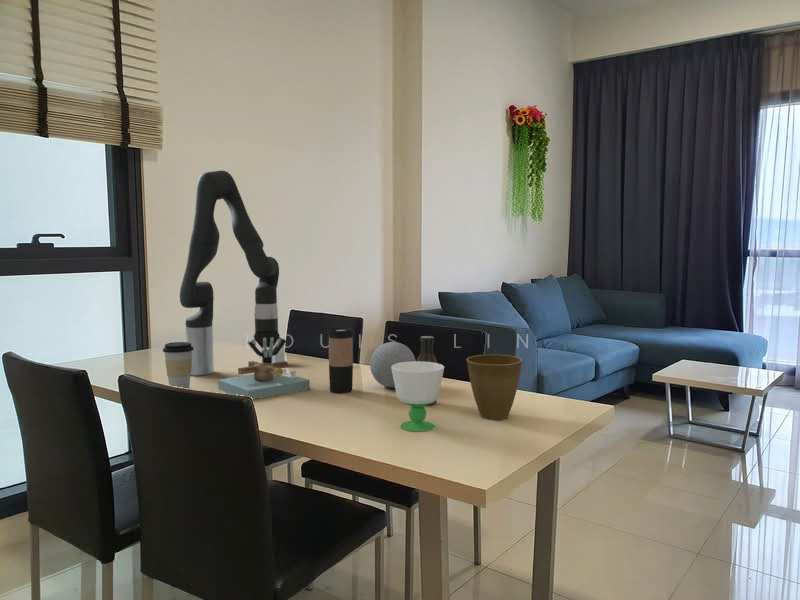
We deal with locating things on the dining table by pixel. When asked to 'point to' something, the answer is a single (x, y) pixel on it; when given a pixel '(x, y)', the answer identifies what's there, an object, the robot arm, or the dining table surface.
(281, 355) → the small box
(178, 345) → the coffee cup
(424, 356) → the sauce bottle
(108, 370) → the dining table surface
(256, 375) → the capstan
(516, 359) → the plant pot
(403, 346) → the decorative ball
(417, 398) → the cup
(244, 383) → the stand
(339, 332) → the travel mug
